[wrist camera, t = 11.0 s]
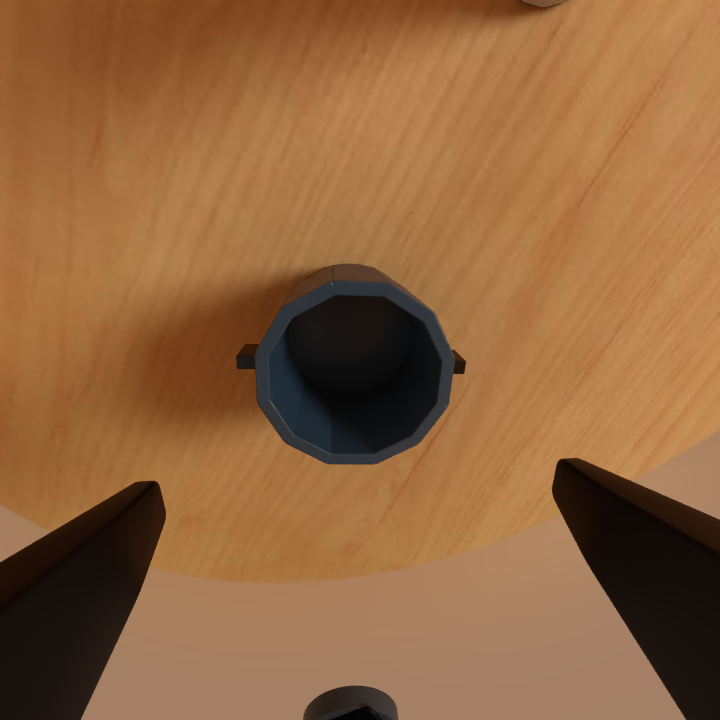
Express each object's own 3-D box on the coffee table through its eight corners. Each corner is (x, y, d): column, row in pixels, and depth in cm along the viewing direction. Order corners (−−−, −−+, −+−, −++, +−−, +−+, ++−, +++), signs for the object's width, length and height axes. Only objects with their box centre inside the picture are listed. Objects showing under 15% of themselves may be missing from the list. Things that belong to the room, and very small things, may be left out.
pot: (467, 465, 15) (497, 287, 13) (230, 464, 14) (215, 275, 12) (426, 393, 21) (441, 267, 19) (263, 390, 21) (258, 259, 18)
